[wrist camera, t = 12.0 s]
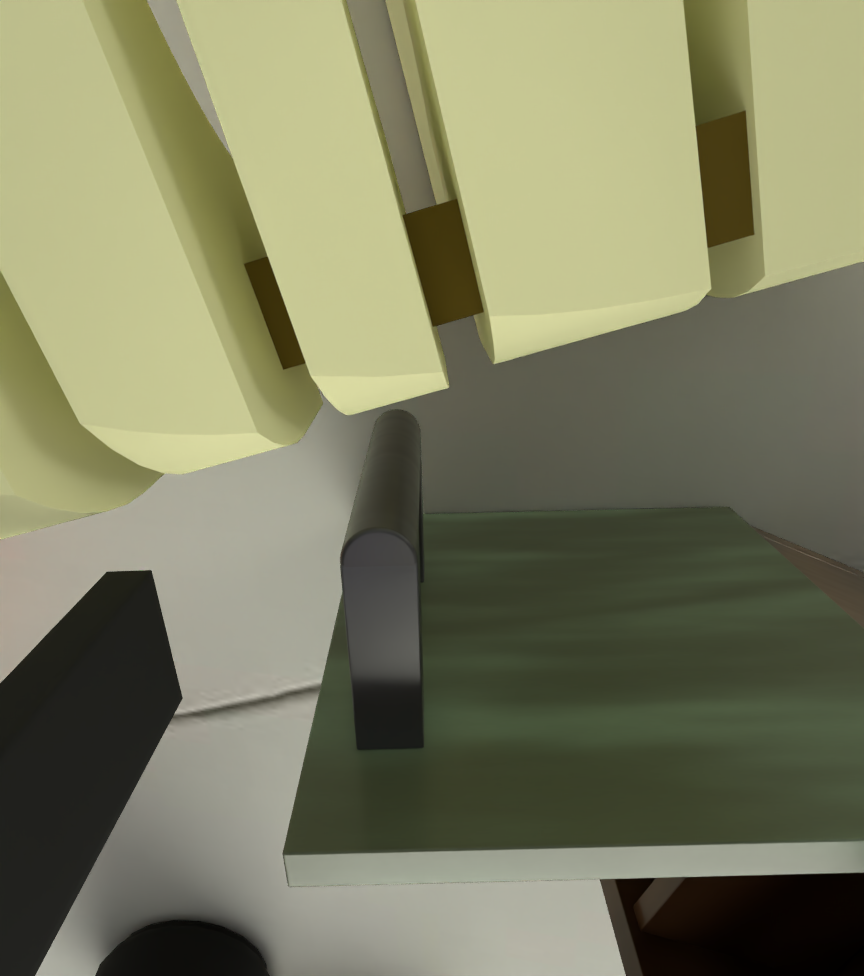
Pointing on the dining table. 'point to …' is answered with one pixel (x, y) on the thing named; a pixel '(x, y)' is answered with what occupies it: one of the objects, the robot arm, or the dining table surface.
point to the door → (574, 698)
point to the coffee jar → (184, 952)
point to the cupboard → (749, 885)
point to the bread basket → (380, 208)
